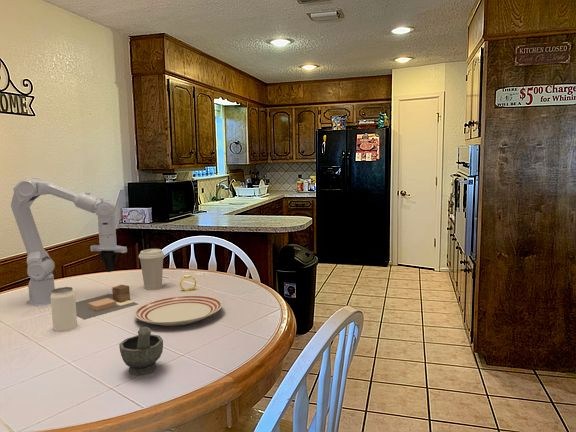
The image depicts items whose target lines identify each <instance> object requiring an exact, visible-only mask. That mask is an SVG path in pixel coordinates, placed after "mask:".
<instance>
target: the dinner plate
mask: <svg viewBox="0 0 576 432" xmlns="http://www.w3.org/2000/svg"><path fill="white" fill-rule="evenodd" d="M222 307H223V301H222V300H220V299H219V298H216V297H213V296H209V295H208V296H207V295H201V294H200V295H197V294H195V295H193V294H189V295H188V294H187V295H176V296H168V297H164V298H159V299H155V300H153V301H149V302H147V303H144V304H142V305H140V306H139V307H137V308H136V309H135V310H134V312H133V315H134V317H135V318H136V319H137V320H139V321H141V322H144V323H148V324H151V325H158V326H164V327H177V326H186V325H190V324H194V323H197V322H200V321H202V320H205V319H207V318H209V317H212V316H213V315H215V314H216V313H217V312H219V311H220V310H221V309H222Z"/></svg>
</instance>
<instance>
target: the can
mask: <svg viewBox="0 0 576 432" xmlns="http://www.w3.org/2000/svg"><path fill="white" fill-rule="evenodd" d="M73 289H74V288H73V287H71V286H63V287H62V286H61V287H57V288H55V289H54V290H52V294H51V303H50V308H51V317H52V330H53V331H54V332H67V331H71V330H73V329H75V328H77V327H78V318H77V314H76V302H77V301H76V294H75V291H74V290H73Z"/></svg>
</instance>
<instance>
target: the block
mask: <svg viewBox="0 0 576 432" xmlns="http://www.w3.org/2000/svg"><path fill="white" fill-rule="evenodd" d="M111 289H112V290H111V291H112V294H113V300H114V301H116V302H120V303H122V302H125V301H127V300H130V301H131V294H130V292H131V291H130V285H127V284H126V285H125V284H119V285H116V286H113V287H112V288H111Z"/></svg>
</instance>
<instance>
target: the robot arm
mask: <svg viewBox="0 0 576 432" xmlns="http://www.w3.org/2000/svg"><path fill="white" fill-rule="evenodd" d="M45 195H51V196H53V197H56V198H60V199H64V200H65V201H69V202H73V204H74V206H75V207H76V208H78V209H81V210H83V211H86V212H87V213H91V214H95V215H96V216H97V220H98V222H97V228H98V229H97V230H98V239H99V240H98V243H99V244H93V245H90V246H89V247H90V249H89V250H90V252H99V253H98V257H99V258H100V259H101V261H102V263H103V265H104V268H105V270H106V272H107V273H110V272H111V273H112V272H113V271H114V269H115V264H116V261H117V258H118V257H119V254H120V253H121V254H126V253H128V248H127V247H128V246H122V245H117V234H116V233H117V230H116V220H115V212H116V205H115V203H113V202H112V201H110V200H108V199H105V200H104V197H97V196H94V195H92V194H91V192H88V191H85V192H84V191H82V192H79V193H77V192H74V191H72V190H70V189H67V188H64V187H62V186H60V185H58V184H55V183H52V182H50V181H47V180H41V179H40V178H29V179H26V178H24V179H22V180H20V181H18V182H17V183H16V185H14V187H13V195H12V199H11V202H10V203H11V204H10V207H11V211H12V213H13V216H14V219H15V222H16V226H17V227H18V230H19V234H20V236H21V240H22V242H23V245H24V247H25V250H26V253H27V258H26V264H27V268H26V273H27V276H28V277H29V278H30V280H29V282H28V285H27V286H28V295H29V296H28V297H29V299H28V300H26V303H28V304H30V305H33V307H42V306H46V305H51V294H52V290H54V289H56V288H55V287H56V286H55V275H54V273H53V272H54V270H55V268H56V265H55V261H54V260H53V259H52V258H51V257H50V255H49V252H48V251H46V250H45V249H44V245H43V242H42V239H41V236H40V234H39V231H38V227H37V225H36V223H35V219H34V217H33V213H32V210H31V206H32V204H33V203H34V201H35V200H37V198H39V197H40V196H45Z"/></svg>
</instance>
